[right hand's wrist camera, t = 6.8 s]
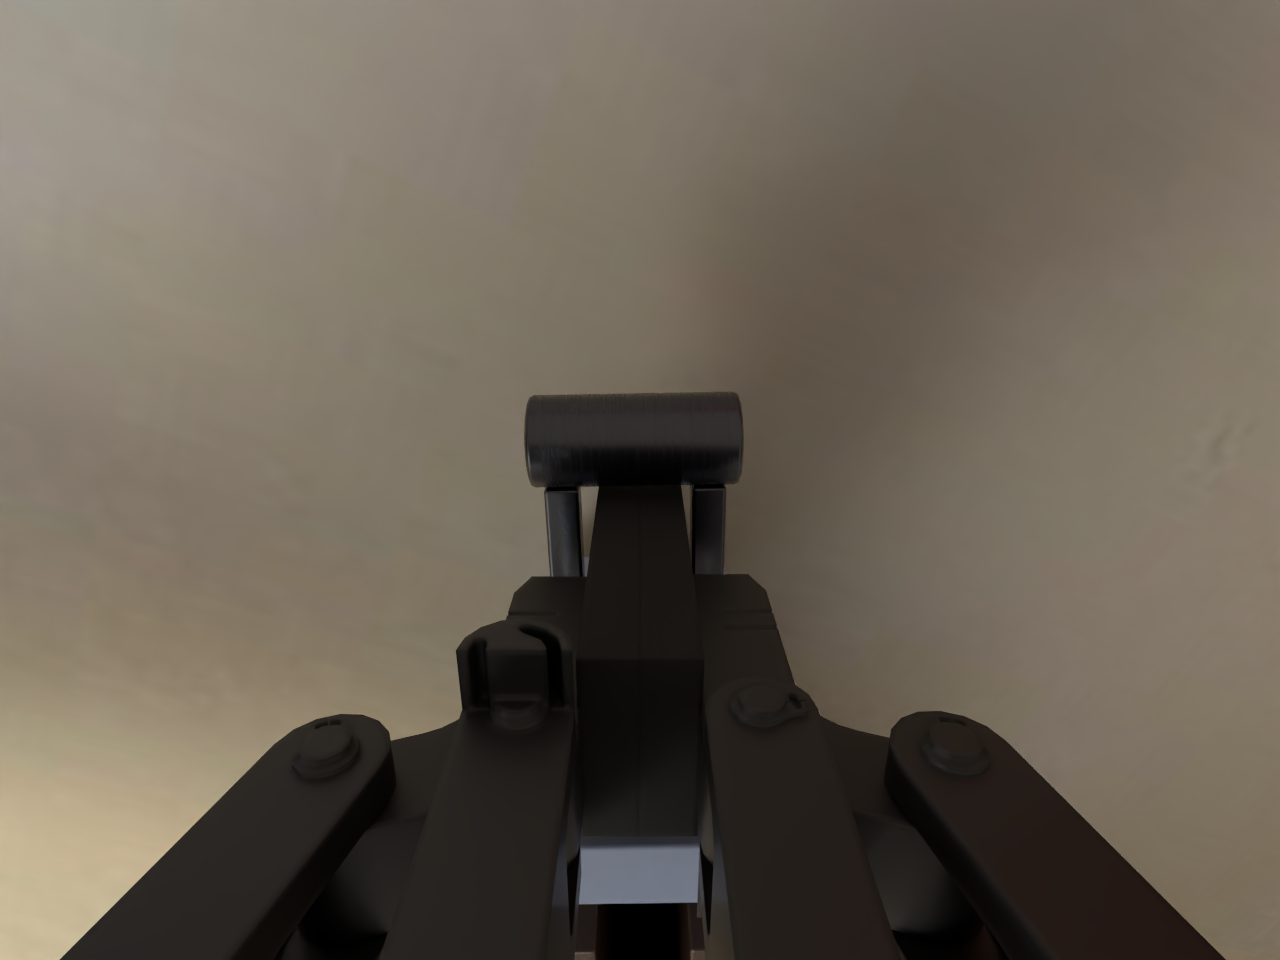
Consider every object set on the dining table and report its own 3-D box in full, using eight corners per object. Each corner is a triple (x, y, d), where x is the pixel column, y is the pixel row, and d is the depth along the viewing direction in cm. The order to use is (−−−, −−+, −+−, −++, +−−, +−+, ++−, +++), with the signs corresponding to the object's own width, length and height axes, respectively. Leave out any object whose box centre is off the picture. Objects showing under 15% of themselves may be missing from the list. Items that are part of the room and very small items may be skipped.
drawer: (541, 340, 17) (446, 494, 9) (727, 337, 17) (816, 488, 9) (586, 1017, 26) (562, 1419, 18) (709, 1015, 26) (743, 1417, 18)
